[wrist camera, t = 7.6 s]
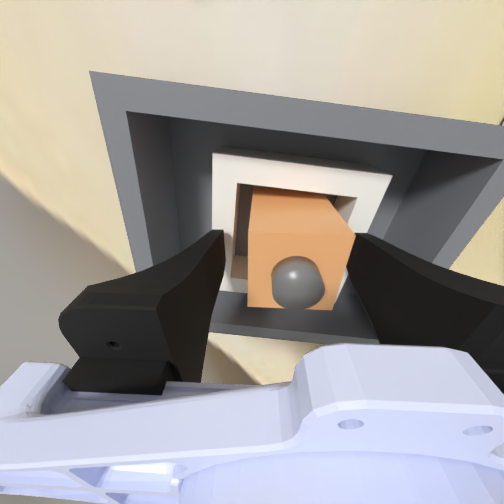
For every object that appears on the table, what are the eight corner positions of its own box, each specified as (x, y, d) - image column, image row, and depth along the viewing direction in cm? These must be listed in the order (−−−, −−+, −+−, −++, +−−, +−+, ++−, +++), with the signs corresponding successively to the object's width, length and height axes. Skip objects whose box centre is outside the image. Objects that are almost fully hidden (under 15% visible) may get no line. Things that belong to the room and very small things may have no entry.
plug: (308, 245, 15) (338, 327, 9) (252, 242, 15) (246, 323, 9) (319, 188, 13) (366, 249, 7) (253, 186, 13) (246, 245, 7)
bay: (448, 125, 12) (552, 132, 8) (358, 297, 19) (386, 350, 15) (153, 86, 11) (89, 70, 7) (174, 277, 18) (148, 325, 14)
